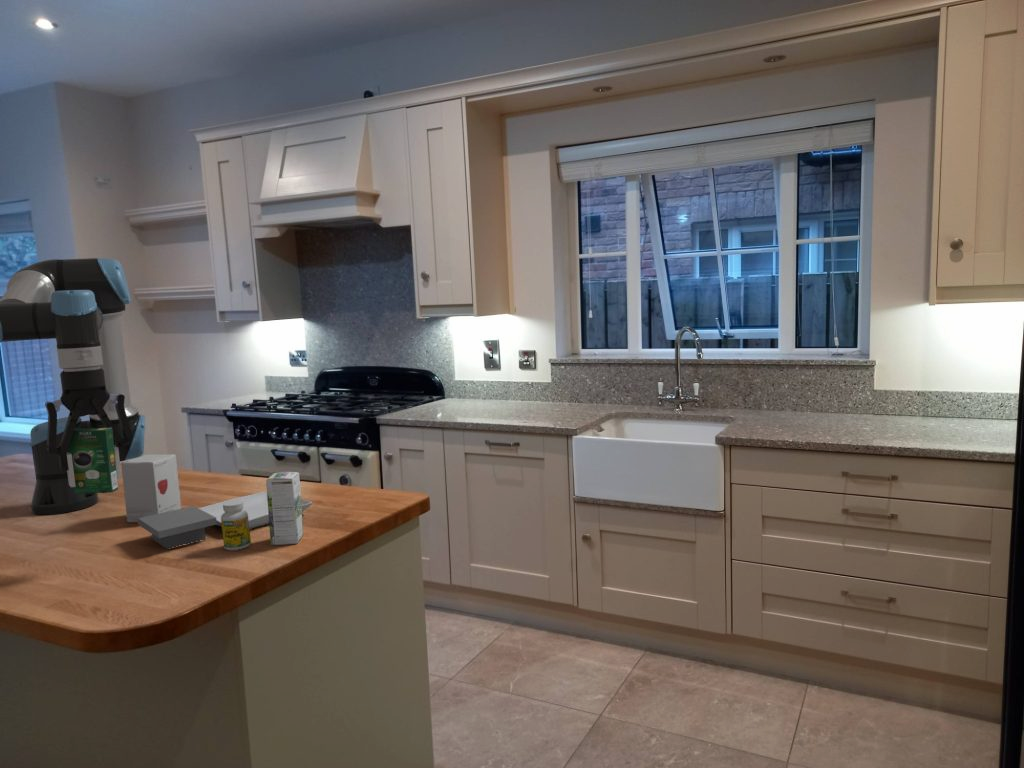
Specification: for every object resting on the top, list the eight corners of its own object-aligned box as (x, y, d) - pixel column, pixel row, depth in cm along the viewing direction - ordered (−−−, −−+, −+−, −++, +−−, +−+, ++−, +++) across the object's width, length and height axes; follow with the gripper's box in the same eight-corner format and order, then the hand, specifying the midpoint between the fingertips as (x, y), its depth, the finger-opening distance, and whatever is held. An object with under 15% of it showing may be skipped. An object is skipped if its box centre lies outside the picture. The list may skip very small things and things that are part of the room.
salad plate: (189, 522, 176) (188, 508, 176) (270, 501, 191) (269, 488, 191) (231, 539, 162) (229, 524, 161) (315, 515, 177) (314, 501, 177)
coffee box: (121, 489, 149) (113, 425, 148) (113, 493, 147) (105, 428, 145) (81, 491, 150) (73, 427, 148) (73, 495, 147) (64, 430, 145)
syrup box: (277, 537, 161) (271, 472, 159) (304, 535, 161) (299, 470, 159) (270, 546, 155) (264, 479, 153) (298, 544, 156) (292, 477, 154)
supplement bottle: (252, 541, 159) (248, 498, 158) (249, 549, 154) (245, 504, 153) (226, 544, 158) (221, 500, 157) (222, 552, 153) (217, 507, 151)
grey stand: (140, 540, 163) (137, 518, 163) (195, 526, 171) (193, 505, 171) (160, 554, 153) (158, 531, 152) (218, 539, 161) (216, 517, 160)
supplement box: (159, 523, 175) (152, 462, 173) (126, 523, 177) (119, 462, 175) (183, 512, 184) (177, 453, 182) (151, 511, 186) (145, 453, 184)
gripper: (22, 375, 136) (38, 495, 138) (142, 364, 148) (155, 474, 151) (18, 373, 141) (33, 488, 144) (134, 362, 154) (146, 469, 157)
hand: (95, 481), depth 148 cm, fingers closed on coffee box, 7 cm apart
